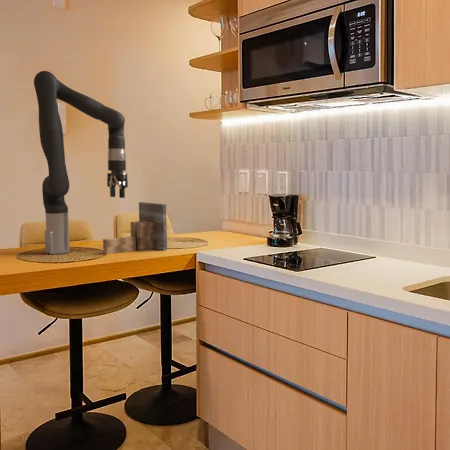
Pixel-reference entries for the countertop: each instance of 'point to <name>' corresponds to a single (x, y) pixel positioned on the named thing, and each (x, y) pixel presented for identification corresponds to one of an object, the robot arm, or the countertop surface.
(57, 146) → the robot arm
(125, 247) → the rail
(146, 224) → the slotted block base plate
